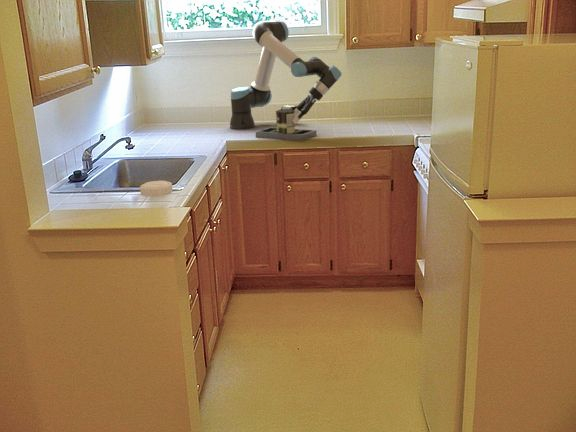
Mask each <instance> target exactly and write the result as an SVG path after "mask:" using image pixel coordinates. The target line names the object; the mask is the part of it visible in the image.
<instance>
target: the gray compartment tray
mask: <svg viewBox="0 0 576 432" xmlns="http://www.w3.org/2000/svg"><path fill="white" fill-rule="evenodd" d="M317 136H318V134H317V130H315V129H305V128H304V129H301V128H295V132H293V133H290V134H289V133H277V127H272V126H271V127H267V128H263V129H261V130H260V129H259V130H257V131H255V138H260V137H262V138H261V139H275V140H288V141H289V140H290V141H307V140H309V139H312V138H314V137H317Z"/></svg>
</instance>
